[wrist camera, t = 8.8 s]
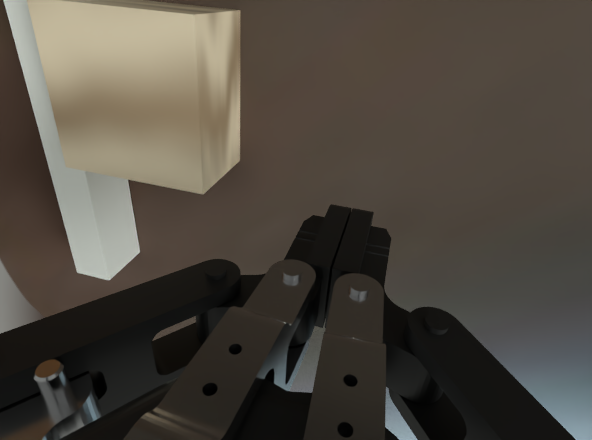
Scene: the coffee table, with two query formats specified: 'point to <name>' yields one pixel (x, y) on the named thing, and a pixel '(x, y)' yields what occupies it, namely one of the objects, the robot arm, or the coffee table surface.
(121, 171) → the maple block
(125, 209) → the board
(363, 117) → the coffee table surface
